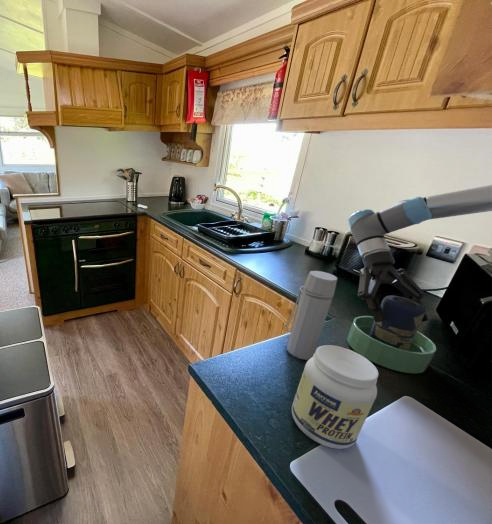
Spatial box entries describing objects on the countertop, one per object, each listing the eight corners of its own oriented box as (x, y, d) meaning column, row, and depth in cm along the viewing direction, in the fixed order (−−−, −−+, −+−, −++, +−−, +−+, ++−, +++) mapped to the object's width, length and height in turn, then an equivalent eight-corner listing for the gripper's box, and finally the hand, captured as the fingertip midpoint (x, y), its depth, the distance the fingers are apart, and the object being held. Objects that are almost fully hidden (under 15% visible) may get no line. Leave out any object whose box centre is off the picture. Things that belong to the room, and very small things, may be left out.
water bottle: (318, 356, 84) (345, 278, 76) (304, 365, 80) (330, 283, 71) (289, 339, 91) (310, 266, 83) (274, 346, 87) (295, 270, 78)
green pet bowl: (423, 352, 89) (433, 333, 87) (427, 385, 76) (439, 364, 73) (350, 327, 101) (357, 309, 98) (342, 351, 87) (349, 332, 85)
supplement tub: (291, 436, 59) (314, 370, 53) (288, 394, 69) (307, 335, 63) (362, 463, 54) (395, 394, 48) (348, 414, 65) (374, 352, 59)
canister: (392, 364, 82) (418, 309, 76) (358, 344, 90) (378, 293, 84) (411, 357, 86) (436, 303, 80) (376, 339, 94) (396, 289, 88)
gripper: (400, 261, 97) (427, 324, 88) (331, 259, 94) (352, 323, 85) (422, 251, 90) (454, 318, 81) (348, 248, 87) (373, 317, 78)
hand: (401, 321), depth 83 cm, fingers open, 13 cm apart
